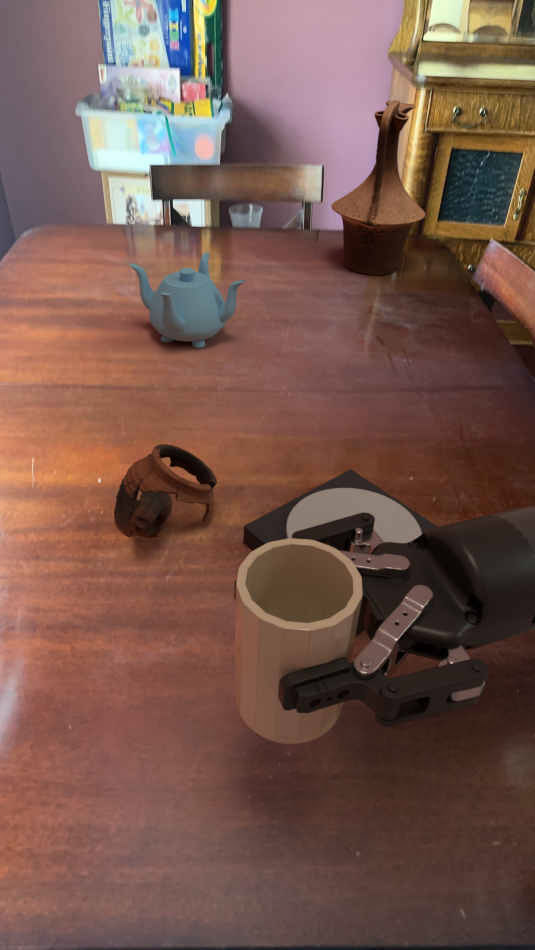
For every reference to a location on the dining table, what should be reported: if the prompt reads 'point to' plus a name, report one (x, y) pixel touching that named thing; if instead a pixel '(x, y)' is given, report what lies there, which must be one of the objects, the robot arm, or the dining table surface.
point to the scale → (339, 514)
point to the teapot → (187, 304)
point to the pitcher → (379, 204)
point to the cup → (291, 630)
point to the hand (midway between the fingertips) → (257, 641)
